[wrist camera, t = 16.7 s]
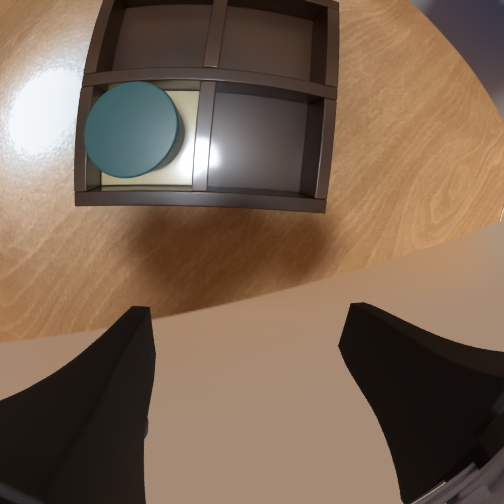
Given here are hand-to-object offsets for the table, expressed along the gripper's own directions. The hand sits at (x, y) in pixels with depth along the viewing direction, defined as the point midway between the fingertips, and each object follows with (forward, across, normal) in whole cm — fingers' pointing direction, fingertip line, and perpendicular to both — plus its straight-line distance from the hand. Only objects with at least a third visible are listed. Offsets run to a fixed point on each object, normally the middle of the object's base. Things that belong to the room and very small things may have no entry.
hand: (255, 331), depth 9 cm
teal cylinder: (+9, +5, -7) cm, 12 cm away
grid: (+9, +2, -10) cm, 14 cm away
